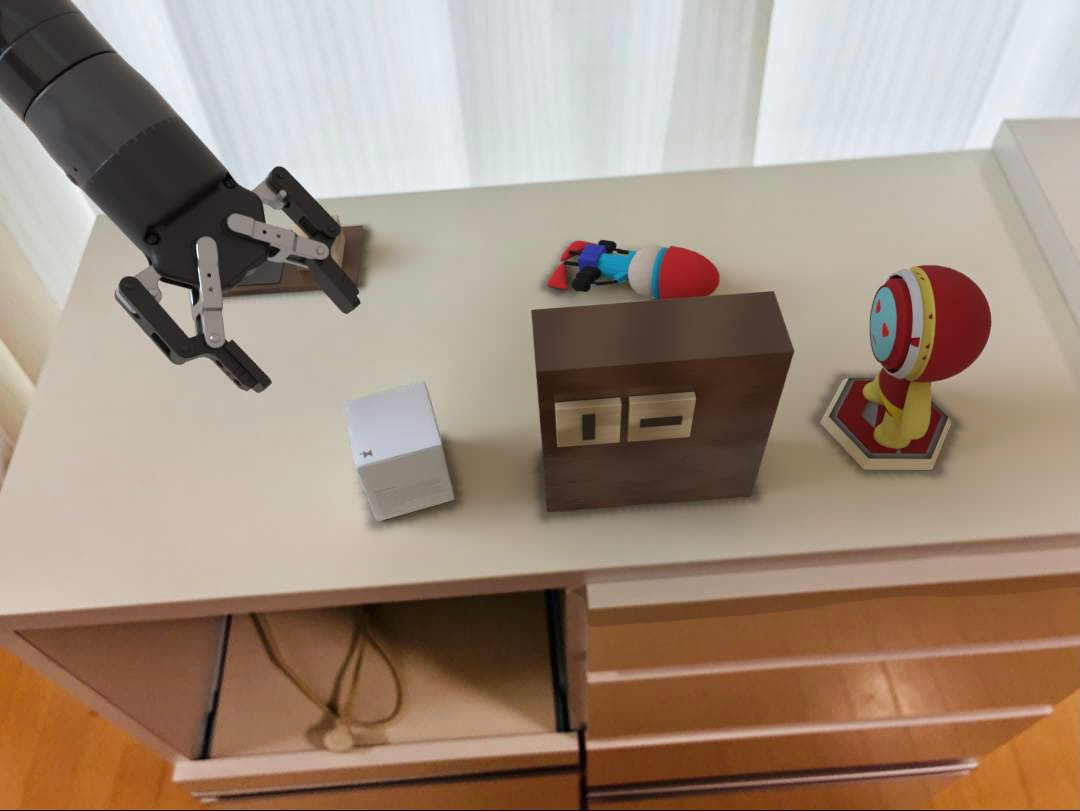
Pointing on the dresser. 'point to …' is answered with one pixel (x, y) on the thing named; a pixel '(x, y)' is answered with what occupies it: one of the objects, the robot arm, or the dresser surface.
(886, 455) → the figurine
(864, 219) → the dresser surface
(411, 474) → the product box
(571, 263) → the toy figure
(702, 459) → the dark wooden block
